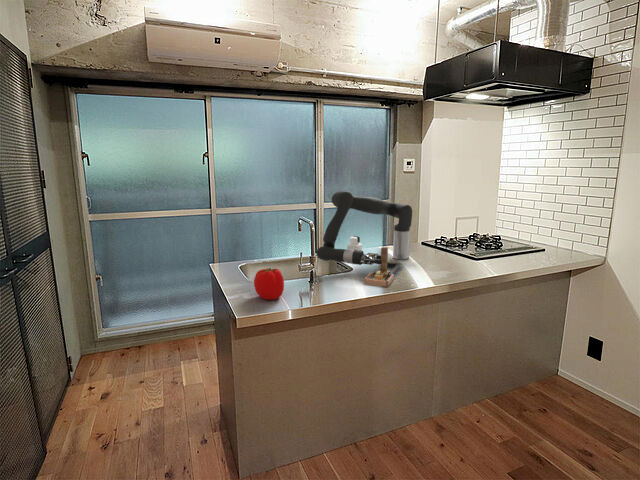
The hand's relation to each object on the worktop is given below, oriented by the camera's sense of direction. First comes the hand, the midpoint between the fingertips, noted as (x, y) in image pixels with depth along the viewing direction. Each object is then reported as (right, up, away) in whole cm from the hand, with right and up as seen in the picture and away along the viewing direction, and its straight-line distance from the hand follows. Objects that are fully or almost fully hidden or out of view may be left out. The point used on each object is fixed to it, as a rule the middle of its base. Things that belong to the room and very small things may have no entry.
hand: (383, 260), depth 197 cm
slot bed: (+3, -8, +9) cm, 12 cm away
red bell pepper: (-55, -15, -26) cm, 62 cm away
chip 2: (-2, -10, -3) cm, 10 cm away
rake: (0, -8, +2) cm, 8 cm away
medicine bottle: (-11, 0, +47) cm, 48 cm away
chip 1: (-3, -11, -7) cm, 13 cm away
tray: (-3, -11, -6) cm, 13 cm away
